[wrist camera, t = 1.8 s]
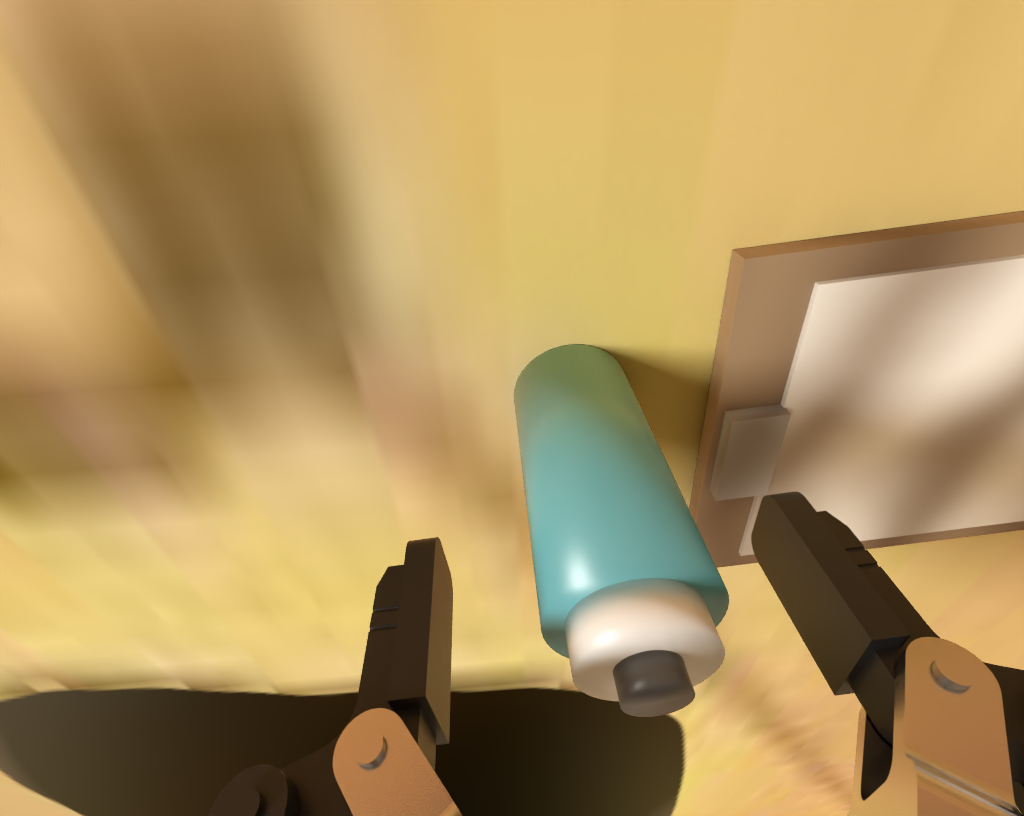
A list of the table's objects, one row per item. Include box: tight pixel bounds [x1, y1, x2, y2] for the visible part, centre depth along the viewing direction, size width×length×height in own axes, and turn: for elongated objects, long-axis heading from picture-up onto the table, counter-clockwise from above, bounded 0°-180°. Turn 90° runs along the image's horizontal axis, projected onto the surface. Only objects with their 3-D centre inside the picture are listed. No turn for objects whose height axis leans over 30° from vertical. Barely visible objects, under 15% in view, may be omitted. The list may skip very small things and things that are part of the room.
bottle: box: [514, 344, 729, 717], centre depth 13 cm, size 4×4×10 cm
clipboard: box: [689, 211, 1024, 568], centre depth 18 cm, size 20×15×1 cm
